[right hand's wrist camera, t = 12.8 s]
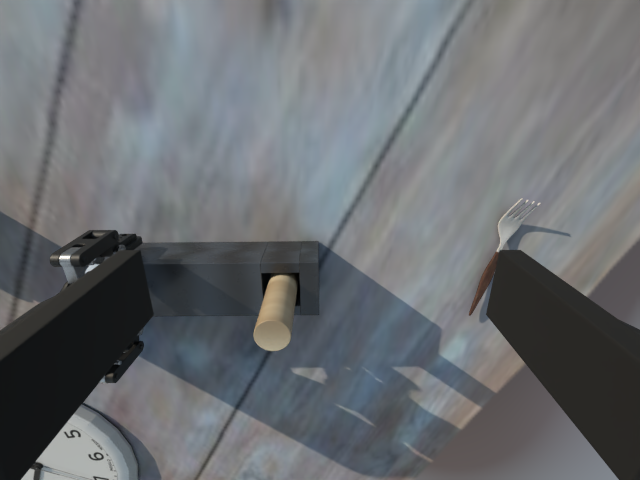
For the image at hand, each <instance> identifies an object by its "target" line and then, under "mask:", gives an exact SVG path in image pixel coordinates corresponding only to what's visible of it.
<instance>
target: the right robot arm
mask: <svg viewBox="0 0 640 480" xmlns="http://www.w3.org/2000/svg"><path fill="white" fill-rule="evenodd" d="M153 315H154V313H153V308H152V303H151V299H150V294H149V289H148V284H147V279H146V274H145V269H144V265H143V260H142V255H141V250H119V251H118V252H116V253H115V254H113V255H112V256H111V257H109V258H108V259H106V260H105V261H104V262H102V263H101V264H99V265H98V266H96V267H95V268H94V269H92V270H91V271H89V272H88V273H87V274H85V275H84V276H82V277H81V278H80V279H78V280H77V281H75V282H74V283H73V284H71V285H70V286H68V287H67V288H65V289H64V290H63V291H61V292H60V293H58V294H57V295H56V296H54V297H53V298H51V299H50V300H49V301H47V302H46V303H44V304H43V305H42V306H40V307H39V308H37V309H36V310H35V311H33V312H32V313H30V314H29V315H27V316H26V317H25V318H23V319H22V320H20V321H19V322H18V323H16V324H14V325H12V326H10V327H8V328H6V329H4V330H2V331H0V480H21V479H22V478H23V476H24V475H25V474H26V473H27V472H28V470H29V469H30V468H31V467H32V465H33V464H34V463H35V462H36V460H37V459H38V458H39V457H40V455H41V454H42V453H43V452H44V450H45V449H46V448H47V447H48V445H49V444H50V443H51V442H52V440H53V439H54V438H55V437H56V435H57V434H58V433H59V432H60V430H61V429H62V428H63V427H64V426H65V424H66V423H67V422H68V421H69V419H70V418H71V417H72V416H73V414H74V413H75V412H76V411H77V409H78V408H79V407H80V406H81V404H82V403H83V402H84V401H85V399H86V398H87V397H88V396H89V394H90V393H91V392H92V391H93V389H94V388H95V387H96V386H97V384H98V383H99V382H100V381H101V379H102V378H103V377H104V376H105V375H106V373H107V372H108V371H109V370H110V368H111V367H112V366H113V365H114V363H115V362H116V361H117V360H118V358H119V357H120V356H121V355H122V353H123V352H124V351H125V350H126V348H127V347H128V346H129V345H130V343H131V342H132V341H133V340H134V338H135V337H136V336H137V335H138V333H139V332H140V331H141V330H142V329H143V327H144V326H145V325H146V324H147V322H148V321H149V320H150V319H151V317H152V316H153ZM486 315H487V316H488V317H489V319H490V320H491V321H492V322H493V324H494V325H495V326H496V327H497V329H498V330H499V331H500V332H501V333H502V335H503V336H504V337H505V338H506V340H507V341H508V342H509V343H510V345H511V346H512V347H513V348H514V350H515V351H516V352H517V353H518V355H519V356H520V357H521V358H522V360H523V361H524V362H525V363H526V365H527V366H528V367H529V368H530V370H531V371H532V372H533V373H534V375H535V376H536V377H537V378H538V379H539V381H540V382H541V383H542V384H543V386H544V387H545V388H546V389H547V391H548V392H549V393H550V394H551V396H552V397H553V398H554V399H555V401H556V402H557V403H558V404H559V406H560V407H561V408H562V409H563V410H564V412H565V413H566V414H567V416H568V417H569V418H570V419H571V421H572V422H573V423H574V424H575V426H576V427H577V428H578V429H579V430H580V432H581V433H582V434H583V435H584V437H585V438H586V439H587V440H588V442H589V443H590V444H591V445H592V447H593V448H594V449H595V450H596V452H597V453H598V454H599V455H600V457H601V458H602V459H603V460H604V461H605V463H606V464H607V465H608V466H609V468H610V469H611V470H612V472H613V473H614V474H615V475H616V476H617V478H618V479H619V480H640V330H639V329H637V328H635V327H633V326H631V325H629V324H627V323H625V322H622V321H620V320H618V319H617V318H615V317H614V316H612V315H611V314H610V313H608V312H607V311H605V310H604V309H603V308H601V307H600V306H598V305H597V304H596V303H594V302H593V301H591V300H590V299H589V298H587V297H586V296H584V295H583V294H582V293H580V292H579V291H577V290H576V289H575V288H573V287H572V286H570V285H569V284H567V283H566V282H565V281H563V280H562V279H560V278H559V277H558V276H556V275H555V274H553V273H552V272H551V271H549V270H548V269H546V268H545V267H544V266H542V265H541V264H539V263H538V262H536V261H535V260H534V259H532V258H531V257H529V256H528V255H527V254H525V253H524V252H522V251H521V250H499V255H498V260H497V265H496V269H495V274H494V279H493V284H492V289H491V294H490V299H489V303H488V308H487V313H486Z"/></svg>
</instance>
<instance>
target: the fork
mask: <svg viewBox="0 0 640 480" xmlns="http://www.w3.org/2000/svg"><path fill="white" fill-rule="evenodd" d="M521 200H522V198H521V199H520V200H519V201H518V202H517V203H516V204H515V205H514V206H513V207H512V208H510V209H509V210H508V212H507V213H506V214H505V215H504V216H503V217H502V218H501V219H500V221H499V223H498V232H499V236H500V245H499V247H498V249H497V251H496V253H495V254H494V256H493V258H492V259H491V261H490V262H489V264H488V266H487V267H486V269H485V271H484V273H483V275H482V277H481V280H480V283H479V286H478V289H477V292H476V295H475V298H474V301H473V303H472V306H471V309H470V312H469V316H470V315H471V314H472V313H473V311H474V309H475V308H476V306H477V304H478V302H479V301H480V299H481V297H482V295H483V294H484V292H485V290H486V289H487V287H488V285H489V283H490V282H491V279H492V277H493V275H494V272H495V269H496V265H497V260H498V255H499V250H502V248H503V246H504V244H505V243H506V241H507V240H508V239H509V238H510V237H511V236H512V235H513V234H514V233H515V232H516V231H517V230H518V228H519V227H520V226H521V224H522V223H523V222H524V220H525V219H526V218H527V217H528V216H529V215H530V214H531V212H532V211H533V210H534V209H535V208H536V207H538V206H539V205H540V204H541V203H539V204H537V205H536V206H535V207H534V208H533V209H532V210H530V211H529V212H528V213H527V214H526V215H525V216H524V217H523V218H521V219H520V217H521V216H522V215H523V213H524V212H525V211H526V210H527V209H528V208H529V207H530V206H531V205H532V204H533V203H534V201H533V202H532V203H531V204H530V205H529V206H527V207H526V208H525V209H524V210H523V211H522V212H521V213H520V214H519V215H518V216H516V217H514V216H515V215H516V213H517V212H518V211H519V210H520V209H521V208H522V207H523V206H524V205H525V204H526V203H527V202H528V200H527V201H526V202H524V203H523V204H522V205H521V206H520V207H519V208H518V209H517V210H516V211H515V212H514V213H513V214H511V215H510V216H508V215H509V214H510V212H511V211H512V210H513V209H514V208H515V207H516V206H517V204H518V203H519V202H520V201H521Z"/></svg>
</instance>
